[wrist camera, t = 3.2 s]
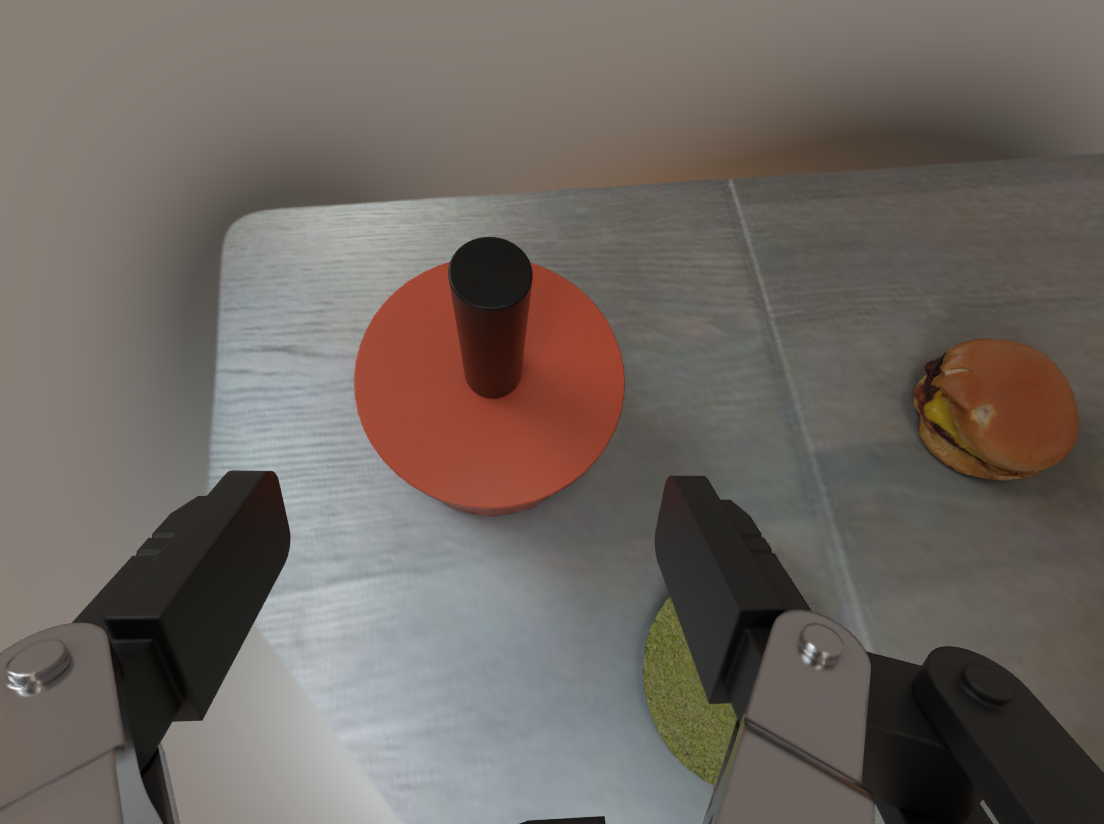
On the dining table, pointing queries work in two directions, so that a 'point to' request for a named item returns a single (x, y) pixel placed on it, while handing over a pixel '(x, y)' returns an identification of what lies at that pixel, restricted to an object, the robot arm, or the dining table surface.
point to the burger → (996, 410)
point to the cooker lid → (489, 380)
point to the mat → (683, 699)
